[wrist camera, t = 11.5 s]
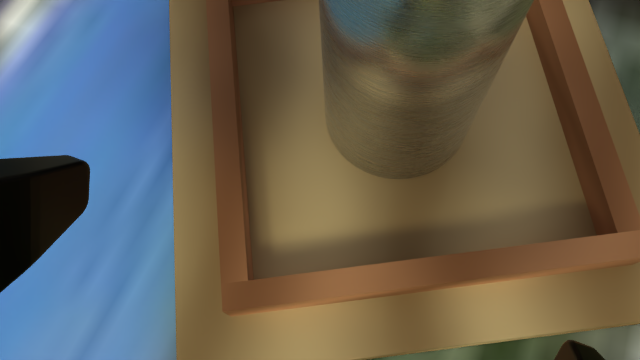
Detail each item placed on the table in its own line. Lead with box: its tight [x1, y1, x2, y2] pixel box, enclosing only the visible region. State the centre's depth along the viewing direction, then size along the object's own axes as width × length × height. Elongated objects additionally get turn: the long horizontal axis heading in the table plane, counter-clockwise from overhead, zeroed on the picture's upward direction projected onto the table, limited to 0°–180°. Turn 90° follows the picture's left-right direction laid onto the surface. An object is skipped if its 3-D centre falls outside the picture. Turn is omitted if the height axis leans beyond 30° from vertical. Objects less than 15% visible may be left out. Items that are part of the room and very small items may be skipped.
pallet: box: [169, 0, 640, 360], centre depth 19 cm, size 16×16×3 cm
